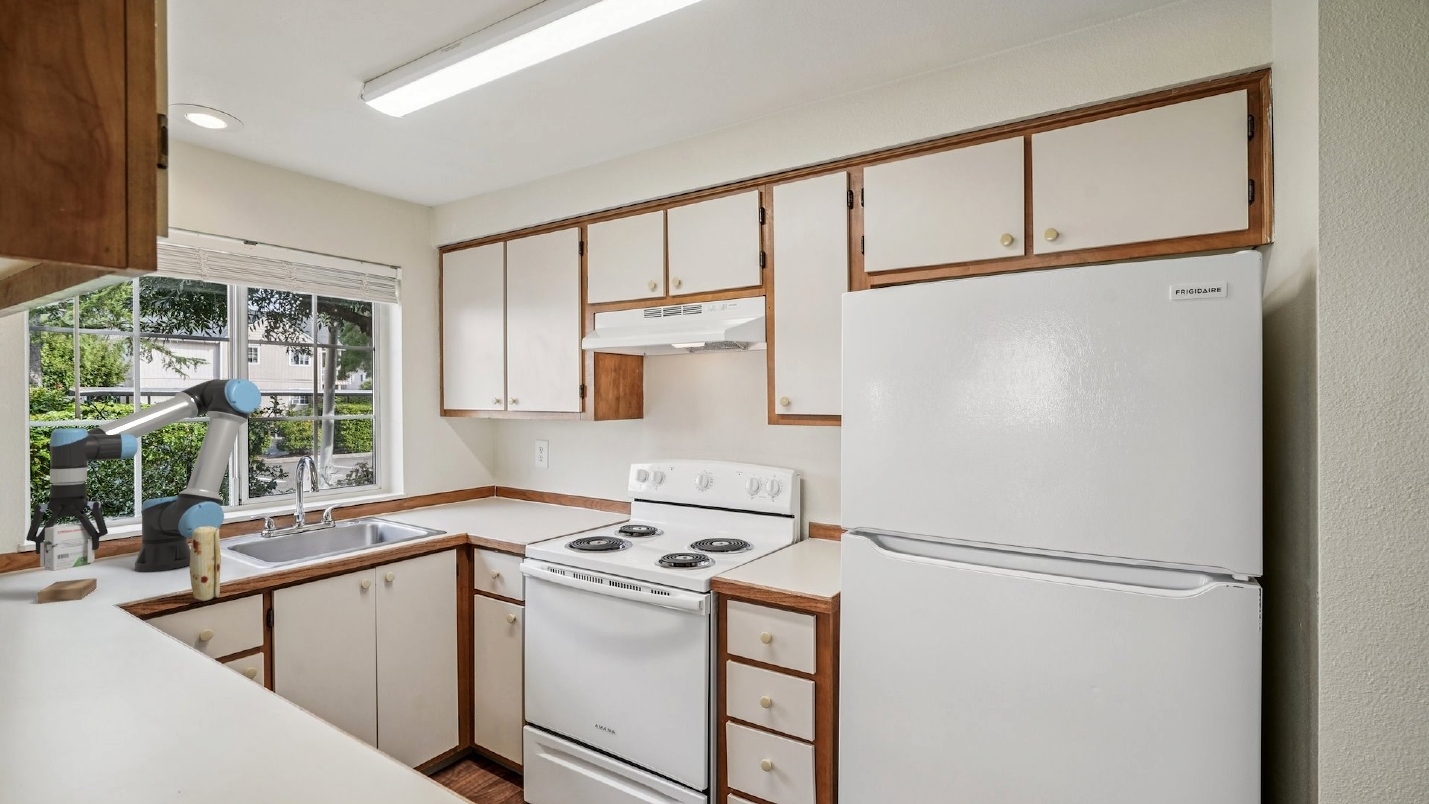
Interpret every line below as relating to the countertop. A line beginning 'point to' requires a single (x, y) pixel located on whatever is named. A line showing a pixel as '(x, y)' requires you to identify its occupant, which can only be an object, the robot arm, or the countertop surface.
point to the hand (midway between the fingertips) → (67, 563)
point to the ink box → (66, 547)
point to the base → (67, 590)
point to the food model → (205, 563)
